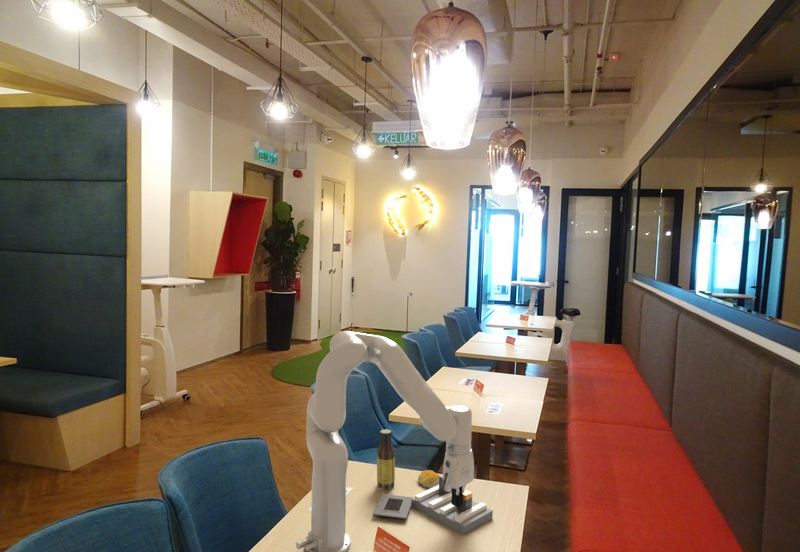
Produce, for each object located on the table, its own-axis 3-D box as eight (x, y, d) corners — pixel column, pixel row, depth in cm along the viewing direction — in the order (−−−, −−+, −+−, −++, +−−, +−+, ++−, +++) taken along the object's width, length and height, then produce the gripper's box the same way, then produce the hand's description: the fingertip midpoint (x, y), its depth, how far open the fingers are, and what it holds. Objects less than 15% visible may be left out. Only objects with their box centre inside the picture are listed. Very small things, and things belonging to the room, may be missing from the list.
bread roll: (431, 475, 194) (431, 465, 194) (446, 485, 187) (446, 474, 187) (412, 480, 190) (413, 470, 190) (427, 491, 182) (427, 479, 182)
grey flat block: (406, 524, 161) (406, 516, 161) (372, 520, 163) (372, 512, 163) (413, 503, 174) (413, 496, 174) (382, 499, 176) (382, 493, 176)
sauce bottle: (385, 480, 190) (386, 426, 188) (398, 485, 185) (399, 430, 184) (372, 486, 185) (373, 430, 183) (386, 492, 181) (387, 435, 179)
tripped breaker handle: (465, 513, 162) (466, 495, 162) (456, 508, 165) (457, 491, 165) (471, 509, 164) (472, 492, 164) (463, 505, 167) (463, 488, 167)
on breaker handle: (446, 496, 173) (447, 479, 172) (438, 492, 175) (439, 476, 175) (452, 493, 175) (453, 477, 174) (444, 489, 177) (445, 473, 177)
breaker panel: (463, 534, 155) (464, 522, 155) (411, 506, 171) (411, 494, 171) (492, 518, 165) (492, 506, 165) (440, 492, 181) (440, 481, 181)
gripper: (451, 457, 153) (449, 518, 154) (483, 444, 163) (481, 501, 164) (432, 449, 158) (431, 508, 160) (464, 437, 168) (463, 493, 170)
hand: (456, 505), depth 162 cm, fingers closed
